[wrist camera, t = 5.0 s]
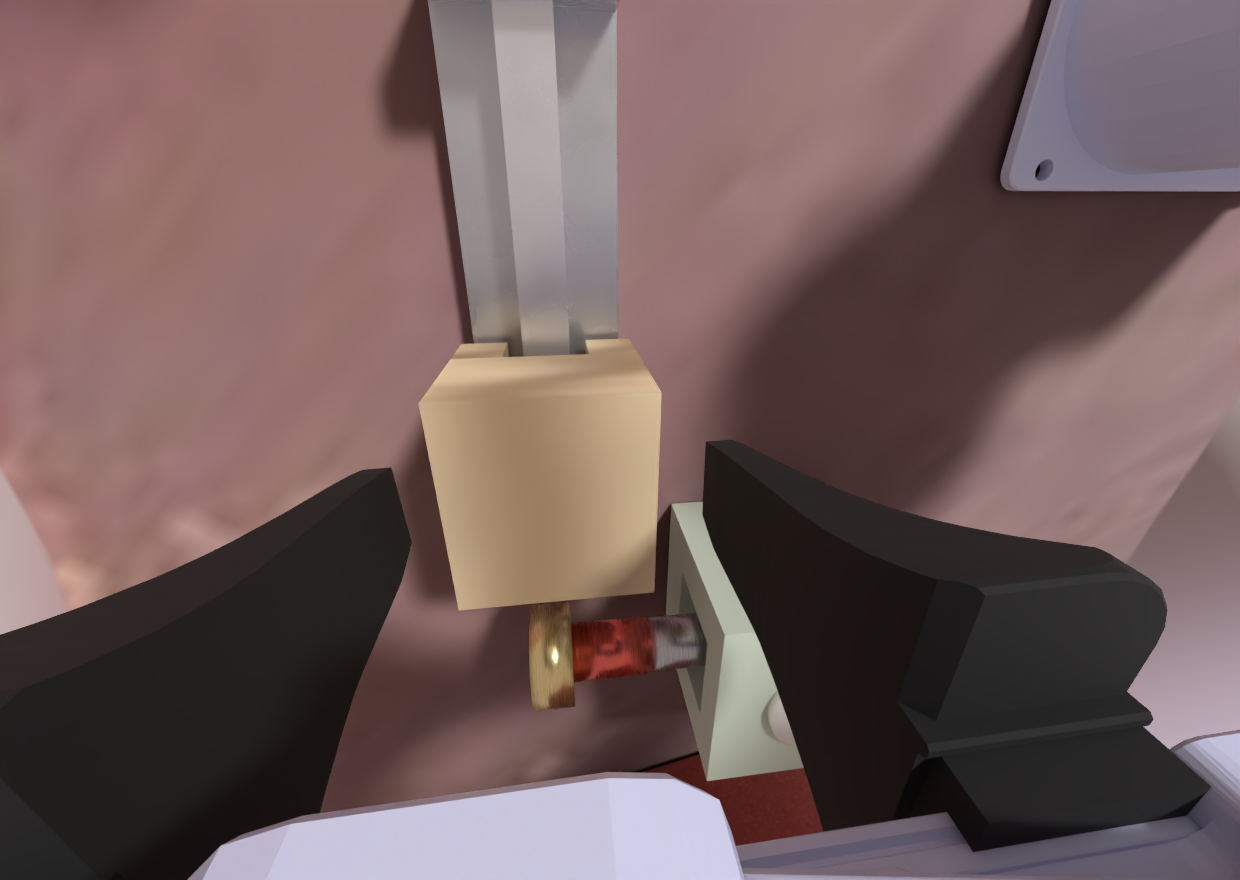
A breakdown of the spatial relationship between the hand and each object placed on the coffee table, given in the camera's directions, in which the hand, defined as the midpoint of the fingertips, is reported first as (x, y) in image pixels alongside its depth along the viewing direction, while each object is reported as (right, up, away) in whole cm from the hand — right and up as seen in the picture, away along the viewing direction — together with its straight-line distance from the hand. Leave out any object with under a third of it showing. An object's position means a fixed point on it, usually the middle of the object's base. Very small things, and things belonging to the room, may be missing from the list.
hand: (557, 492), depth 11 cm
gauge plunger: (+2, -5, +5) cm, 7 cm away
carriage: (-1, +2, +3) cm, 3 cm away
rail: (-1, +5, +3) cm, 6 cm away
